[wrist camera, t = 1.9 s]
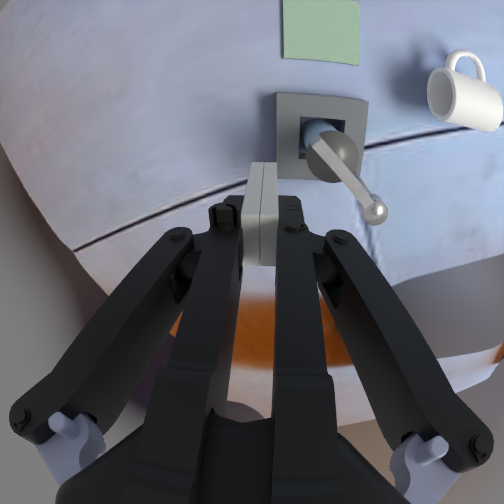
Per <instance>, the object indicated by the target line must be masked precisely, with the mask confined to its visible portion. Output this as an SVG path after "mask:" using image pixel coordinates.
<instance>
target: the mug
mask: <svg viewBox="0 0 504 504" xmlns="http://www.w3.org/2000/svg"><path fill="white" fill-rule="evenodd" d="M461 56H466V57H468V58H470V59H471V60H472V61H473V62H474V64H475V67H476V73H477V79H475V78H473V77H470V76H467V75H464V74H462V73H459V72H456V71H455V65H456V62H457V60H458V58H459V57H461ZM427 101H428V105H429V108H430V111H431V113H432V114H433V116H434V117H435V118H436V119H438V120H439V121H443V122H448V123H453V124H457V125H461V126H465V127H469V128H473V129H477V130H481V131H484V132H493V131H495V130H496V129H497V128H498V126H499V125H500V123H501V120H502V115H503V106H502V101H501V98H500V95H499V93H498V92H497V90H496V89H495V88H494V87H493V86H492V85H490V84H488V83H486V81H485V72H484V68H483V66H482V63H481V62H480V60H479V59H478V57H477V56H476V55H474V54H473V53H471V52H469V51H466V50H455V51H452V52H451V53H450V54H449V55H448V57H447V59H446V62H445V68H443V67H438V68H435V69H434V70H433V71H432V72H431V74H430V76H429V78H428V82H427Z"/></svg>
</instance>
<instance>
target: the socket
mask: <svg viewBox="0 0 504 504" xmlns="http://www.w3.org/2000/svg"><path fill="white" fill-rule="evenodd" d="M368 103H369V102H368V101H365V100H362V99H355V98H348V97H340V96H331V95H320V94H308V93H289V92H276V162H277V179H304V180H320V179H318V178H317V177H315V176H314V175H313V173H312V172H311V171H310V169H309V167H308V164H307V160H306V154H299V134H300V117H316V118H328V119H339V120H341V125H340V132H342V133H344V134H346V135H347V136H349V137H350V138H351V139H352V140H353V141H354V143H355V144H356V146H357V148H358V150H359V157H360V158H359V164H358V167H357V169H356V171H355V172H354V173H353V174H354V176H355V177H356V178H357V179H358V181H359V182H360V183H361V184H362V186H363V187H364V188H365V190H366V191H367V192H368V194H371V192H370V191H369V189H368V188H367V186H366V185H365V183H364V182H363V180H362V179H361V178H360V172H361V165H362V158H363V150H364V142H365V134H366V125H367V114H368ZM341 182H343V181H341Z"/></svg>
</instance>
